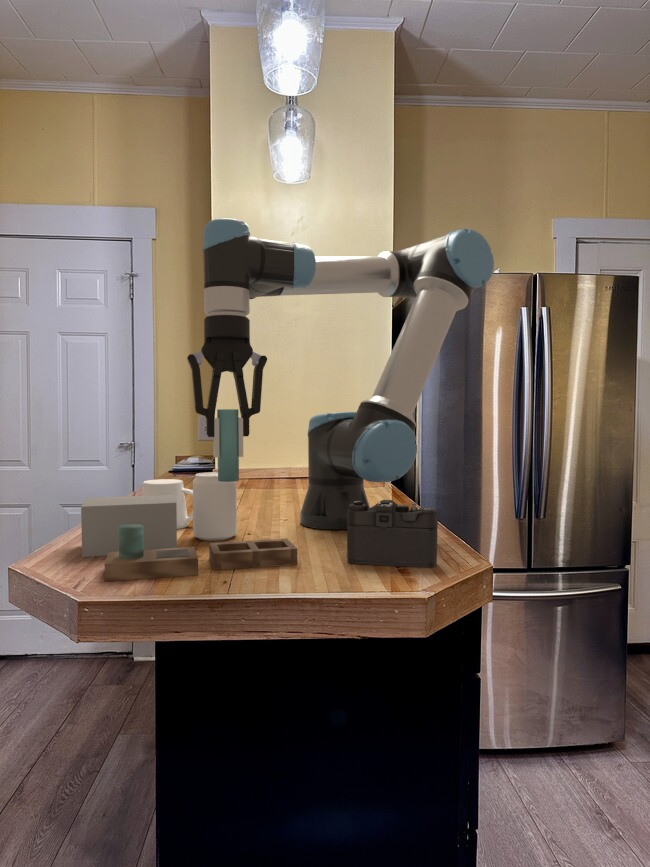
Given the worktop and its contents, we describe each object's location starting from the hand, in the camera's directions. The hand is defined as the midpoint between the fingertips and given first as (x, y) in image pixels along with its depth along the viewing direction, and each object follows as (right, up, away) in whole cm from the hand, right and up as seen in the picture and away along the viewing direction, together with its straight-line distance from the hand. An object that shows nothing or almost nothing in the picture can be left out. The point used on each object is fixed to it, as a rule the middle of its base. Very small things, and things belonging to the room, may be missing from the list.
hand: (228, 456), depth 105 cm
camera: (+27, -17, -3) cm, 32 cm away
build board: (+5, -17, -5) cm, 18 cm away
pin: (0, -4, 0) cm, 4 cm away
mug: (-16, -16, +23) cm, 32 cm away
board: (-10, -17, -11) cm, 23 cm away
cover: (-18, -16, +4) cm, 24 cm away
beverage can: (-5, -16, +13) cm, 21 cm away
